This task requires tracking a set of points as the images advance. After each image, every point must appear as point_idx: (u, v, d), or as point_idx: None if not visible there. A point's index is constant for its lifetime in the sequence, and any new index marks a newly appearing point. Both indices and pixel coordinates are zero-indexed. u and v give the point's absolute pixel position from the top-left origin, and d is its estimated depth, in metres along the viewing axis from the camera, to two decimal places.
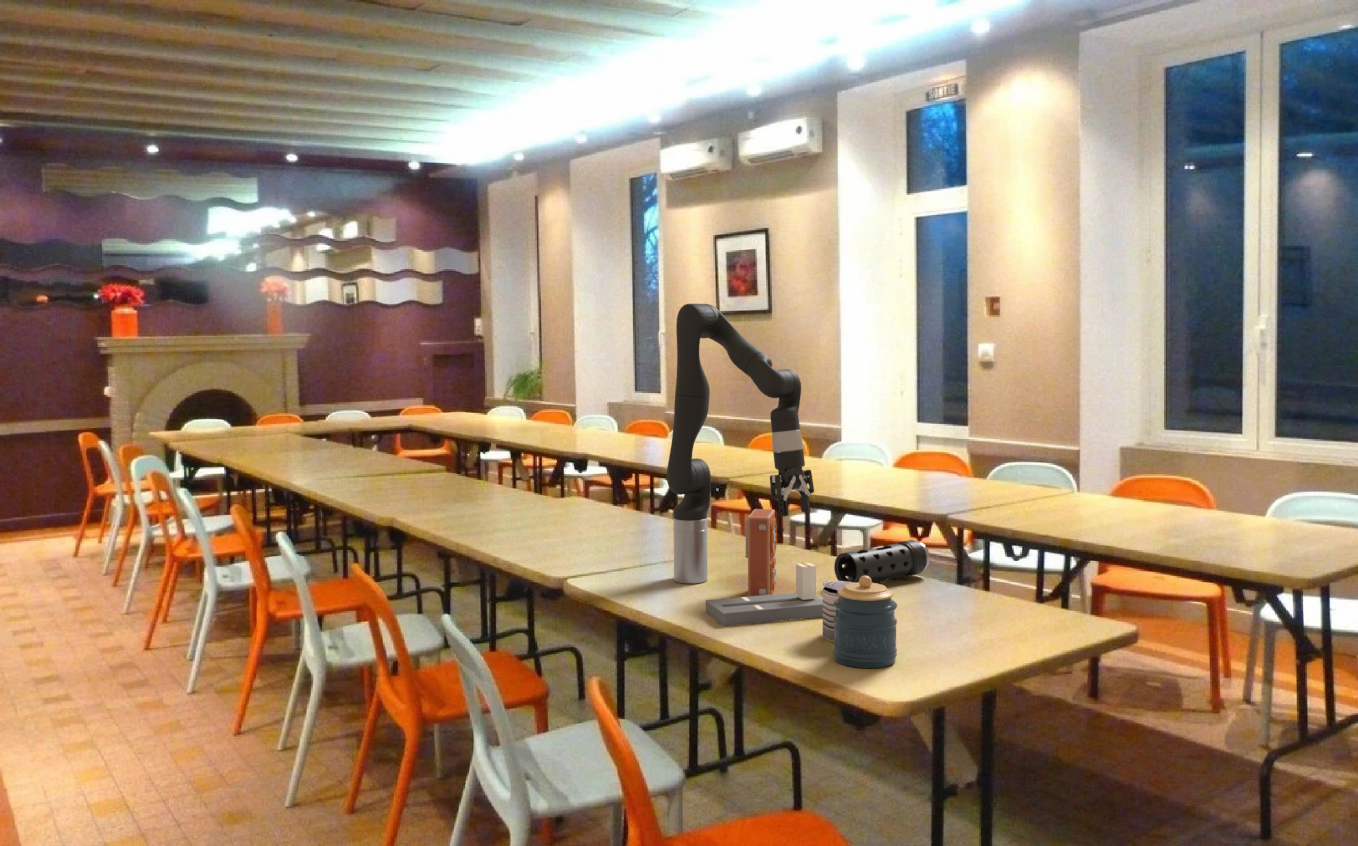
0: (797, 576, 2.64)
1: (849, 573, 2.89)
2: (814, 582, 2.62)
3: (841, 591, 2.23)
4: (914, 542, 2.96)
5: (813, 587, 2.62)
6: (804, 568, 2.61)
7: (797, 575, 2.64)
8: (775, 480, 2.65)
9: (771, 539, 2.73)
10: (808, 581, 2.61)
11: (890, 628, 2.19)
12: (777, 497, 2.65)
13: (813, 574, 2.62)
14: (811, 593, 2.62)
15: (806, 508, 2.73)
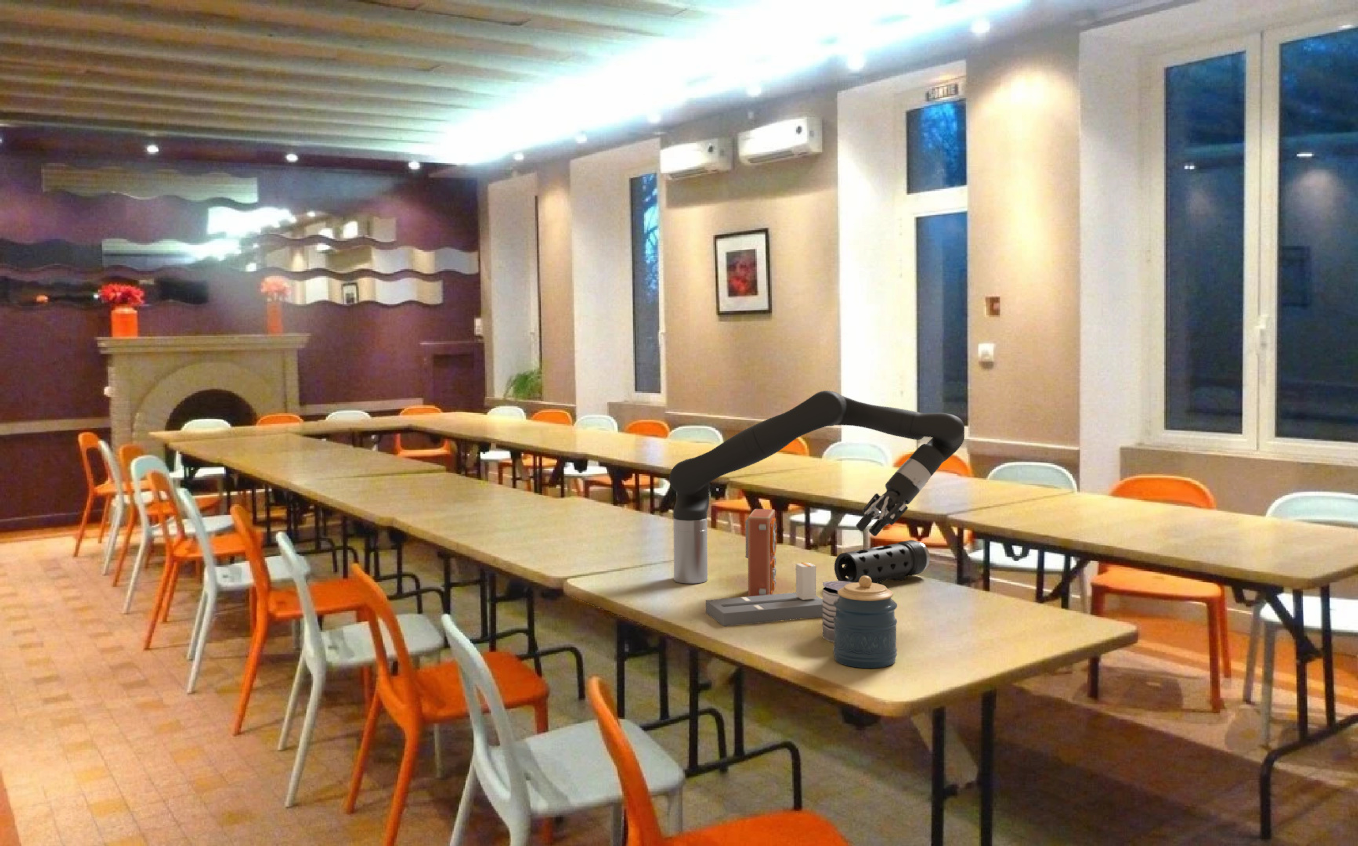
0: (797, 576, 2.64)
1: (849, 573, 2.89)
2: (814, 582, 2.62)
3: (841, 591, 2.23)
4: (914, 542, 2.96)
5: (813, 587, 2.62)
6: (804, 568, 2.61)
7: (797, 575, 2.64)
8: (903, 509, 2.62)
9: (771, 539, 2.73)
10: (808, 581, 2.61)
11: (890, 628, 2.19)
12: (892, 522, 2.62)
13: (813, 574, 2.62)
14: (811, 593, 2.62)
15: (863, 528, 2.70)
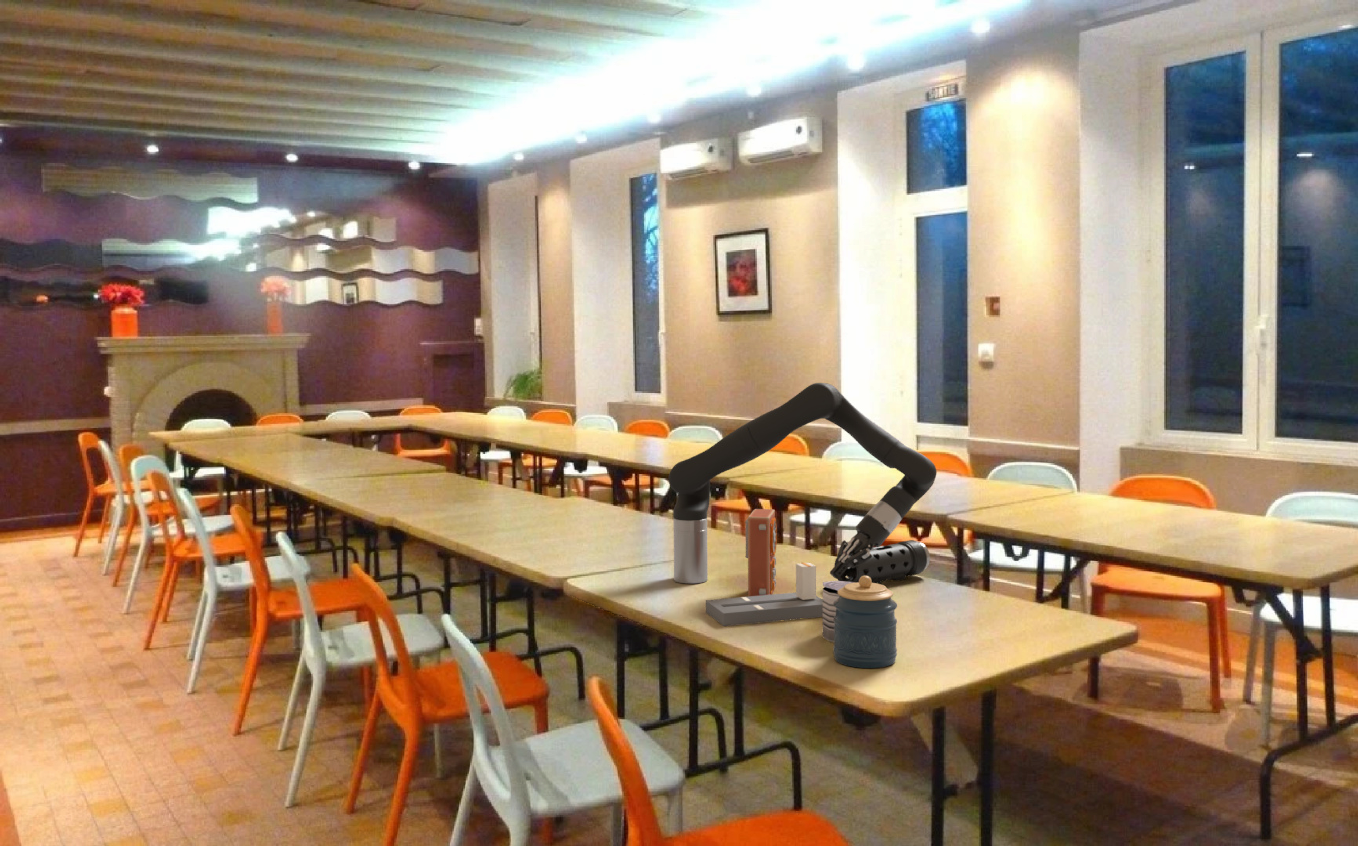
0: (797, 576, 2.64)
1: (849, 573, 2.89)
2: (814, 582, 2.62)
3: (841, 591, 2.23)
4: (914, 542, 2.96)
5: (813, 587, 2.62)
6: (804, 568, 2.61)
7: (797, 575, 2.64)
8: (865, 557, 2.62)
9: (771, 539, 2.73)
10: (808, 581, 2.61)
11: (890, 628, 2.19)
12: (854, 565, 2.64)
13: (813, 574, 2.62)
14: (811, 593, 2.62)
15: None
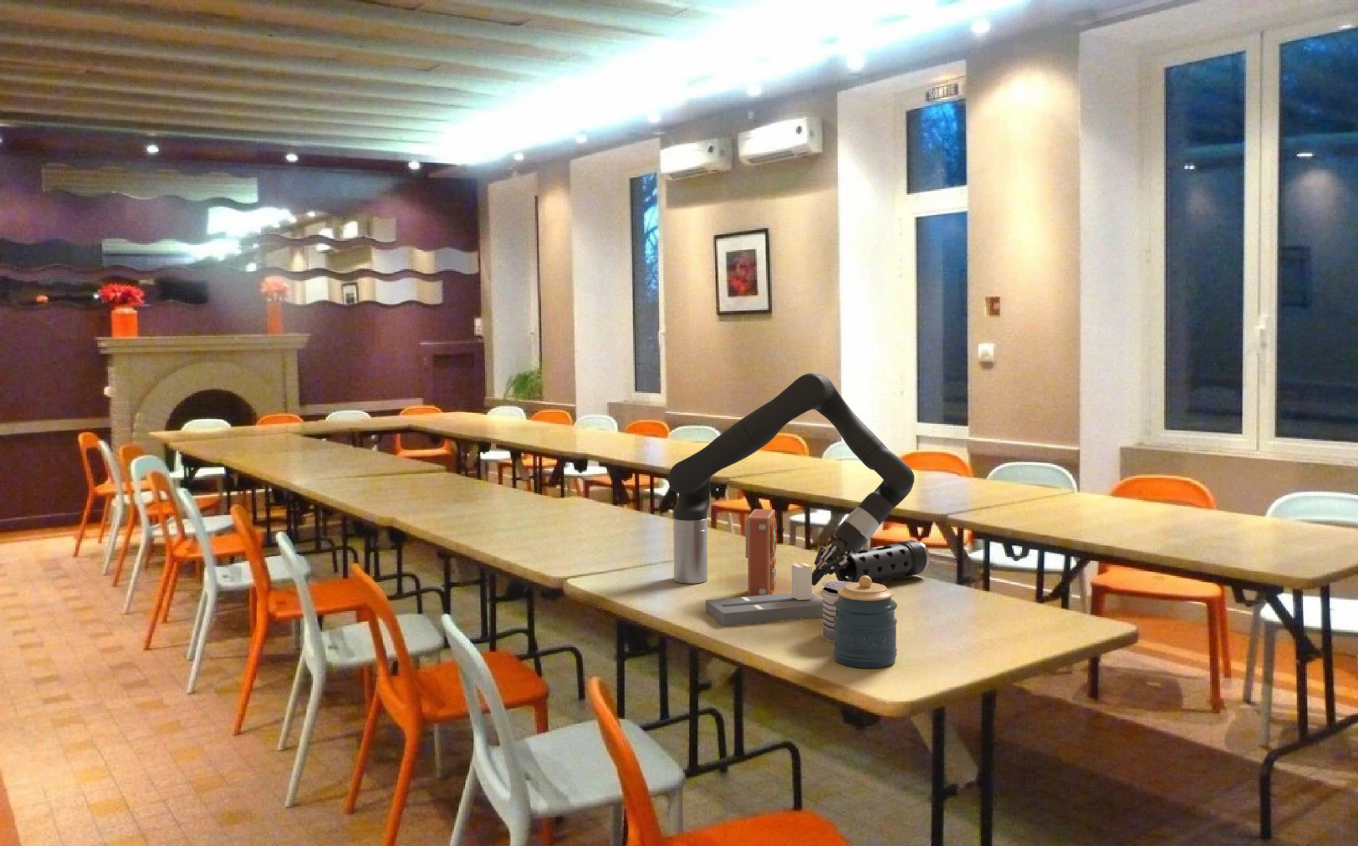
0: (793, 576, 2.63)
1: (849, 573, 2.89)
2: (810, 582, 2.62)
3: (841, 591, 2.23)
4: (914, 542, 2.96)
5: (809, 588, 2.62)
6: (800, 568, 2.60)
7: (793, 575, 2.63)
8: (842, 564, 2.60)
9: (771, 539, 2.73)
10: (804, 582, 2.61)
11: (890, 628, 2.20)
12: (831, 572, 2.62)
13: (809, 574, 2.61)
14: (806, 593, 2.62)
15: None
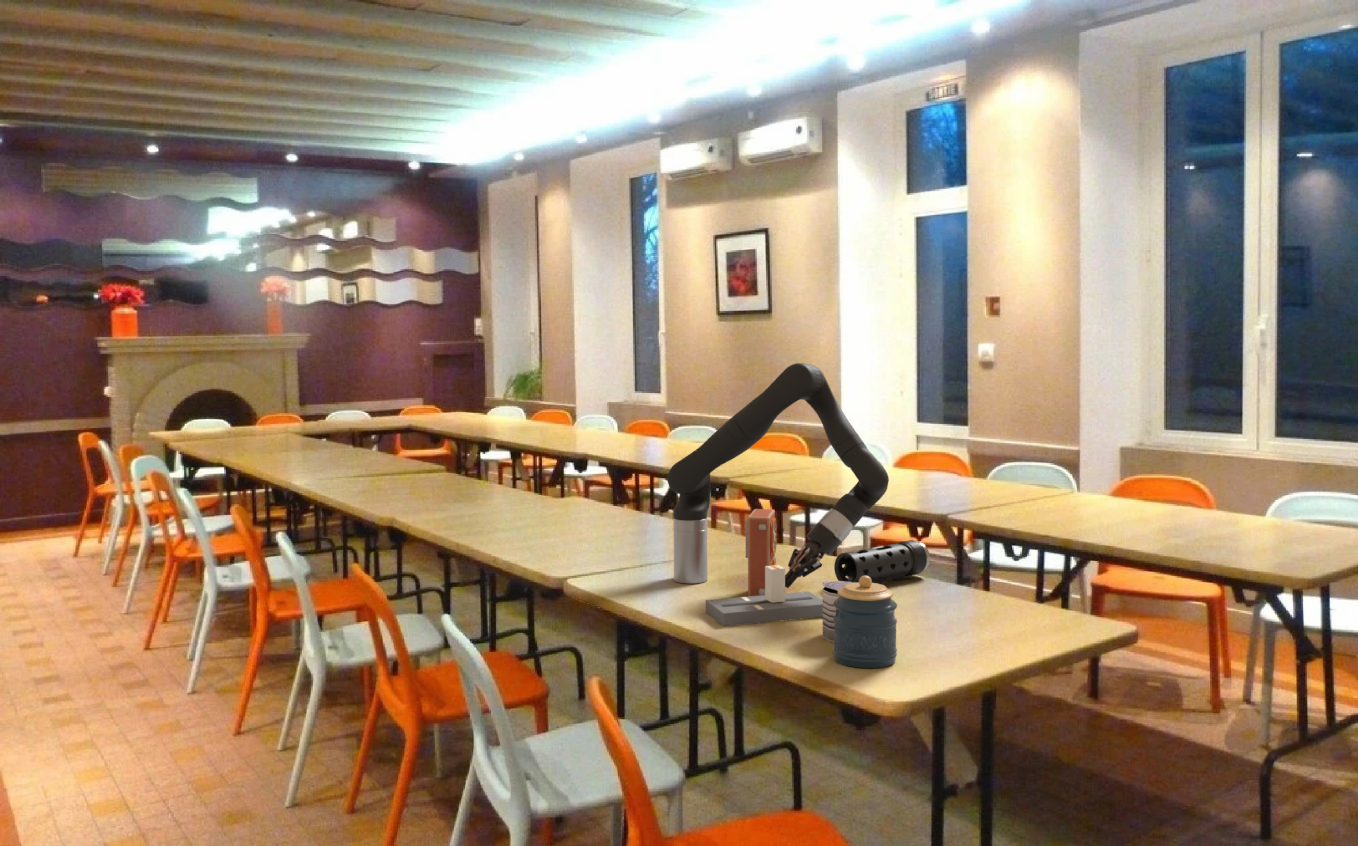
0: (766, 579, 2.61)
1: (849, 573, 2.89)
2: (783, 585, 2.60)
3: (841, 591, 2.23)
4: (914, 542, 2.96)
5: (782, 590, 2.60)
6: (773, 570, 2.58)
7: (766, 578, 2.61)
8: (816, 566, 2.58)
9: (771, 539, 2.73)
10: (777, 584, 2.59)
11: (890, 628, 2.20)
12: (804, 574, 2.60)
13: (782, 577, 2.59)
14: (780, 595, 2.59)
15: None
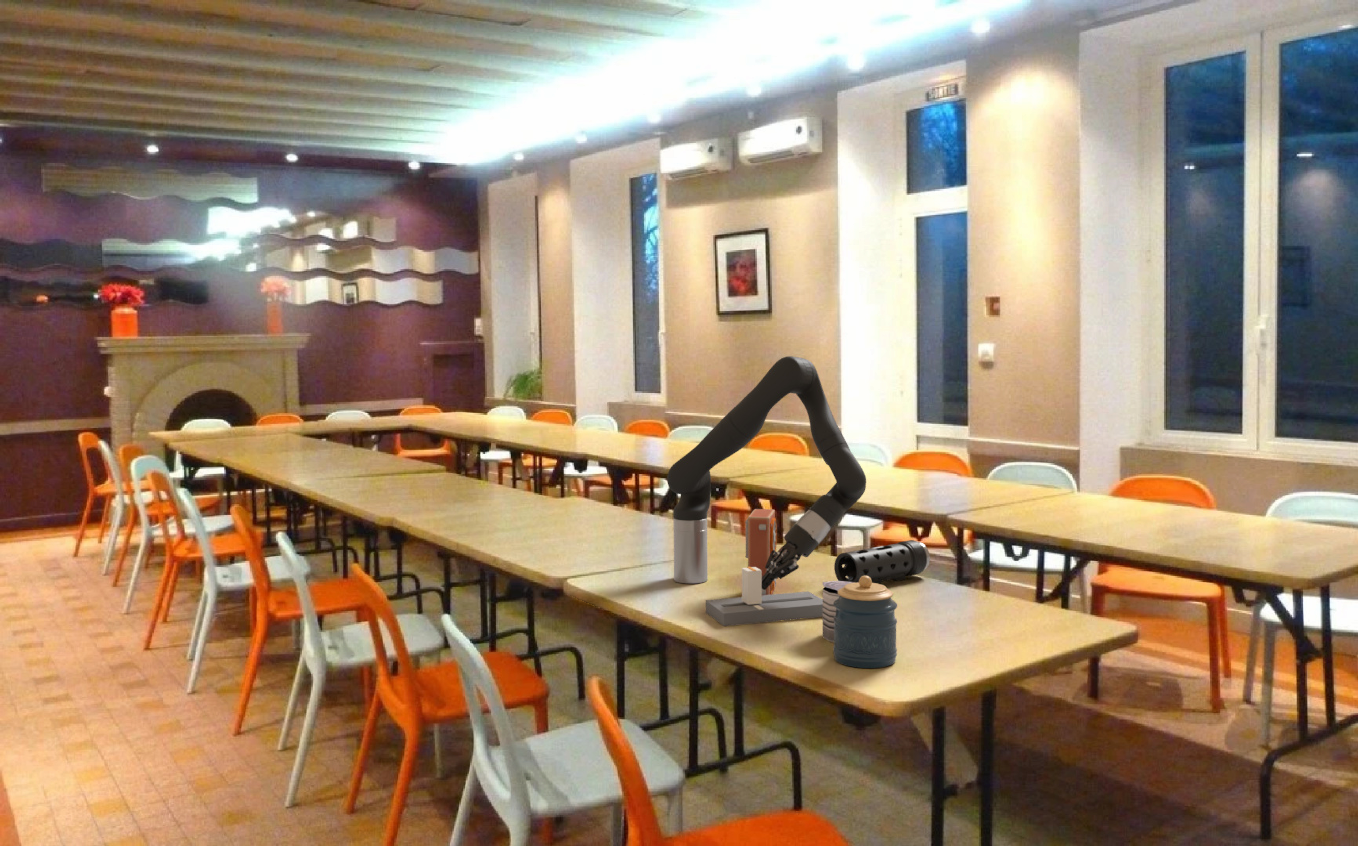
0: (743, 580, 2.60)
1: (849, 573, 2.89)
2: (760, 587, 2.58)
3: (841, 591, 2.23)
4: (914, 542, 2.96)
5: (759, 592, 2.58)
6: (749, 572, 2.57)
7: (743, 579, 2.60)
8: (792, 568, 2.56)
9: (771, 539, 2.73)
10: (753, 586, 2.57)
11: (890, 628, 2.19)
12: (781, 576, 2.58)
13: (758, 578, 2.57)
14: (756, 598, 2.58)
15: None
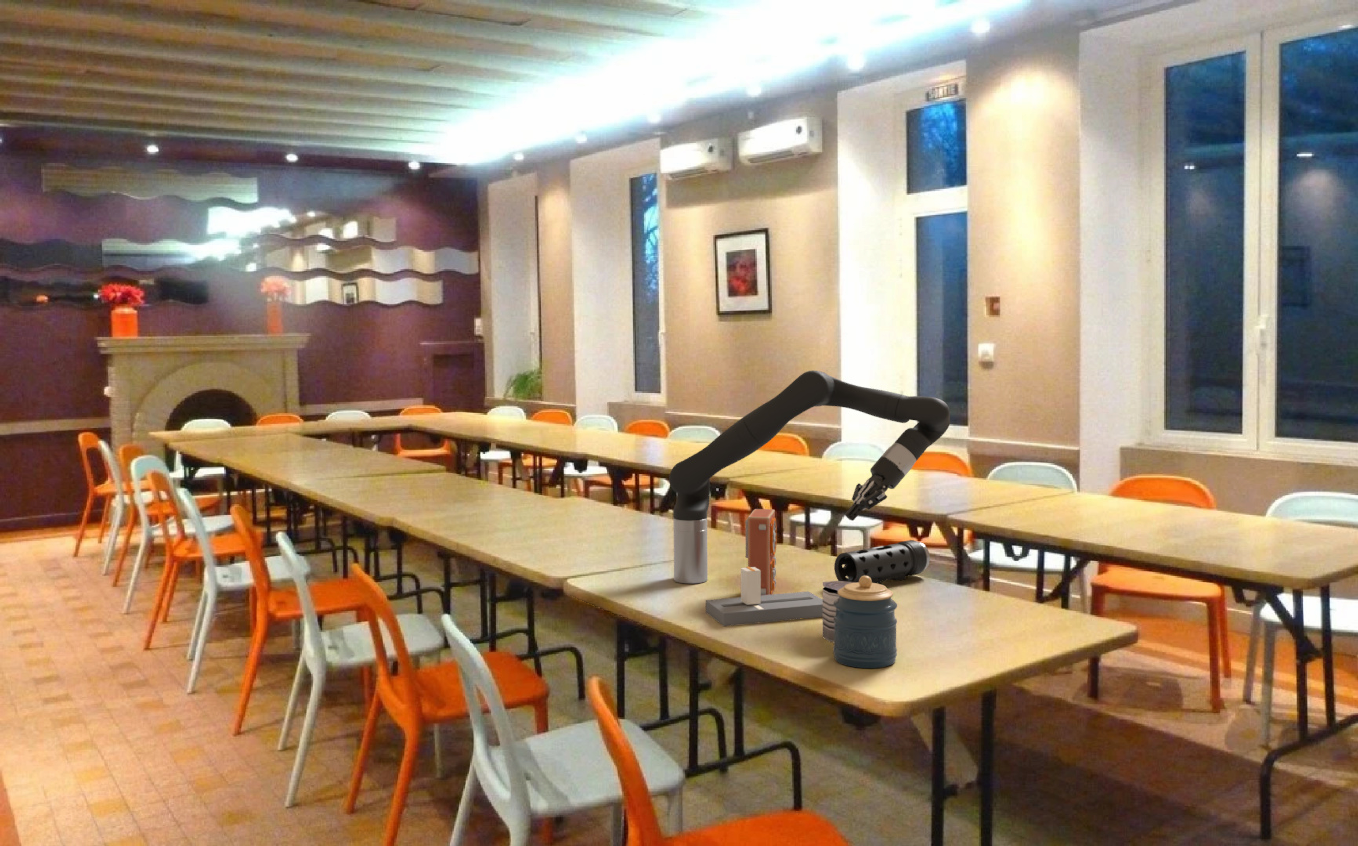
0: (742, 581, 2.60)
1: (849, 573, 2.89)
2: (759, 587, 2.58)
3: (841, 591, 2.23)
4: (914, 542, 2.96)
5: (758, 592, 2.58)
6: (748, 572, 2.57)
7: (742, 580, 2.60)
8: (881, 498, 2.61)
9: (771, 539, 2.73)
10: (753, 586, 2.57)
11: (890, 628, 2.19)
12: (869, 506, 2.63)
13: (758, 579, 2.57)
14: (755, 598, 2.58)
15: None
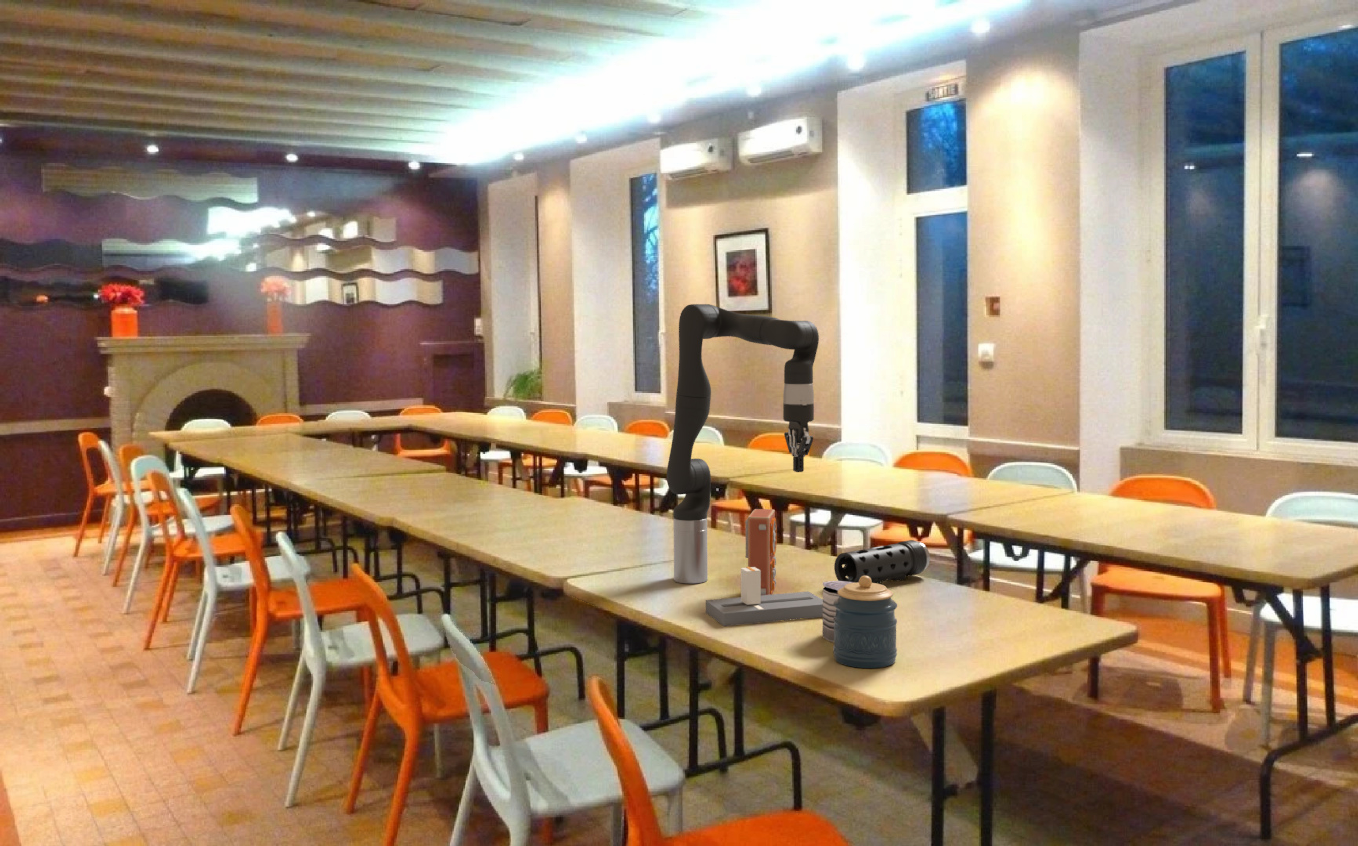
0: (742, 581, 2.60)
1: (849, 573, 2.89)
2: (759, 587, 2.58)
3: (841, 591, 2.23)
4: (914, 542, 2.96)
5: (758, 592, 2.58)
6: (748, 572, 2.57)
7: (742, 580, 2.60)
8: (809, 442, 2.63)
9: (771, 539, 2.73)
10: (753, 586, 2.57)
11: (890, 628, 2.19)
12: (806, 453, 2.66)
13: (758, 579, 2.57)
14: (755, 598, 2.58)
15: None
